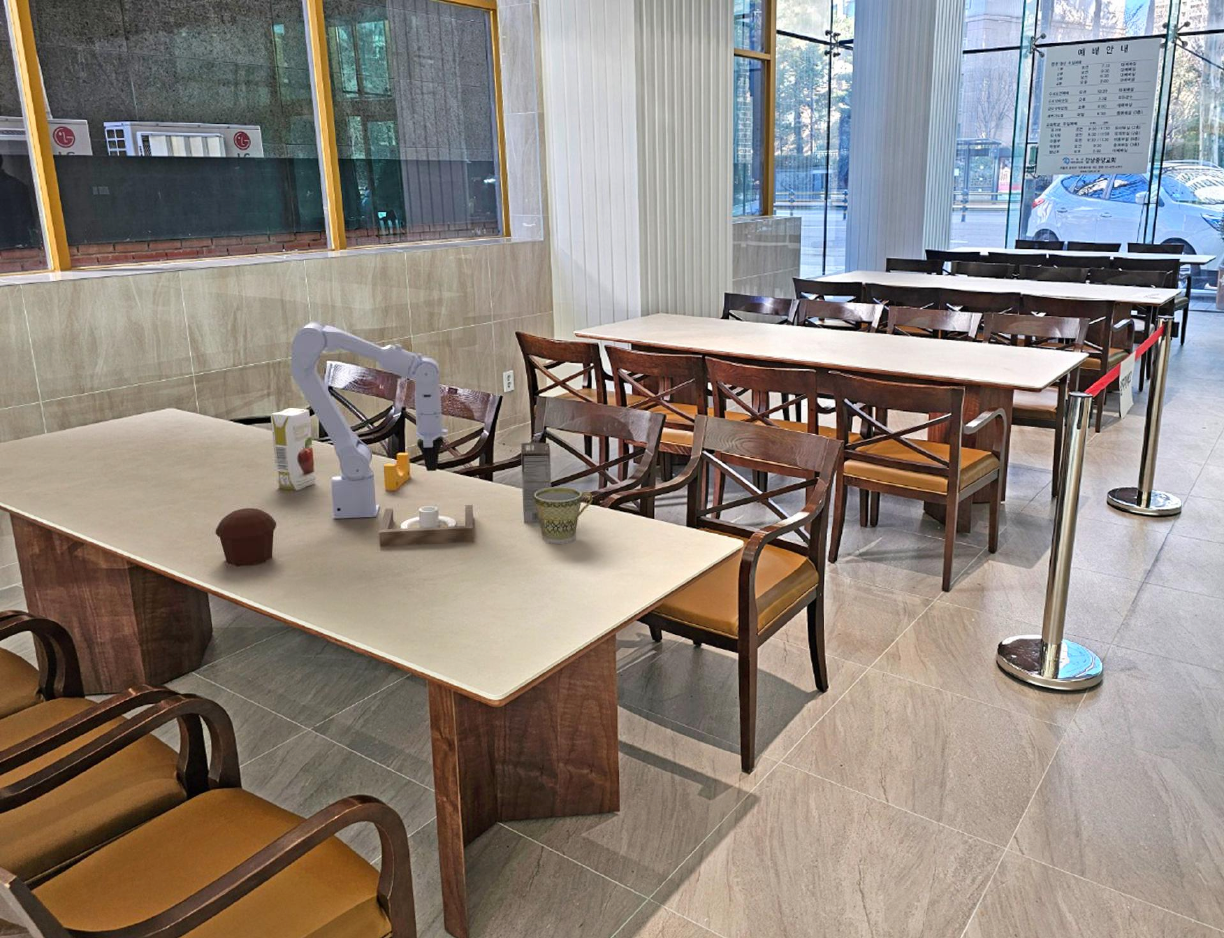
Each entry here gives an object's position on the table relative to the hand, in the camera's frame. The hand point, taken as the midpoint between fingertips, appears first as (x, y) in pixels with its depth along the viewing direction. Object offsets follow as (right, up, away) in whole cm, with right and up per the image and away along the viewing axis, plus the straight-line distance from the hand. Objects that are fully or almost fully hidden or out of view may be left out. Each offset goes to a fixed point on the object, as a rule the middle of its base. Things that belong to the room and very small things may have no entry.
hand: (431, 470), depth 225 cm
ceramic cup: (+31, -15, -16) cm, 38 cm away
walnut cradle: (+1, -13, -11) cm, 17 cm away
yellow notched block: (-14, -4, +23) cm, 27 cm away
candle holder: (+1, -13, -8) cm, 15 cm away
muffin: (-32, -18, -27) cm, 45 cm away
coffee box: (+24, -11, -2) cm, 27 cm away
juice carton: (-38, -4, +21) cm, 43 cm away
